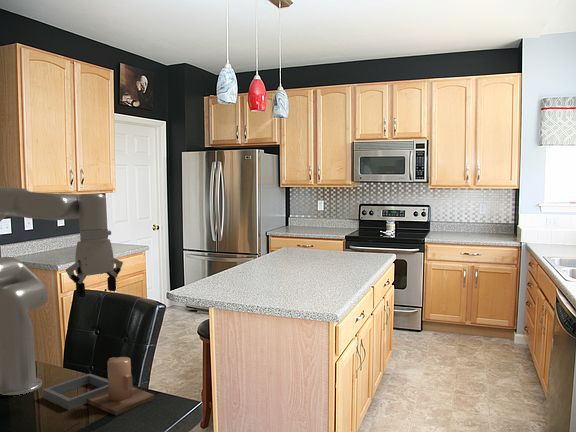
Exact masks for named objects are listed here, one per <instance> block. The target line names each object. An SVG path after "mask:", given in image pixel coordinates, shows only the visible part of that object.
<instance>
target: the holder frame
mask: <svg viewBox="0 0 576 432" xmlns="http://www.w3.org/2000/svg"><path fill="white" fill-rule="evenodd" d="M86 385H91V386H94V387H97V388H94V389H92V390H90V391H89V390H88V391H87V392H84V393H82V394H81V393H80V394H78V395H75V396H74V397H69V396H66V395H64V393H66V392H69V391H72V390H75V389H77V388H80V387H81V388H82V387H83V386H86ZM107 391H108V378H107V379H106V378H103V377H101V376H99V375H96V374H93V373H88V374H84V375H81V376H78V377H75V378H73V379H69V380H67V381H63V382H60V383H57V384H55V385H52V386H49V387H46V388H43V389H42V398H43V399H44V400H46V401H49V402H51V403H53V404H54V405H57V406H59V407H61V408H63V409H66V410H67V411H71V410H73V409H76V408H78V407H81V406H83V405H86V404H88V403H87V399H88V398H91V397H93V396H96V395H99V394H101V393H104V392H107Z"/></svg>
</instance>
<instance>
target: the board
mask: <svg viewBox="0 0 576 432" xmlns="http://www.w3.org/2000/svg"><path fill="white" fill-rule="evenodd" d="M132 387H133V389H132V396H131V397H130V398H128V399H125V400H120V401H112V400H109V392H108V391H107V392H104V393H101V394H99V395H96V396H93V397H91V398H88V399H87V403H86V404H88V405H91V406H93V407H95V408H97V409H100V410H102V411H104V412H107V413H108V414H111V415H114V416H118V415H121V414H123V413H126V412H127V411H130V410H133V409H134V408H137V407H140V406H142V405H144V404H146V403H149V402H151V401H153V400H155V399H156V398H155V397H156V395H155V394H154V393H150V392H148V391H145V390H142V389H139V388H138V387H134V386H132Z"/></svg>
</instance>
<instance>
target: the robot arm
mask: <svg viewBox="0 0 576 432" xmlns="http://www.w3.org/2000/svg"><path fill="white" fill-rule="evenodd" d="M107 213H108V212H107V197H106V196H105V194H103V193H82V194H78V193H77V194H76V193H50V192H38V191H36V192H35V191H29V189H27V188H24V187H8V186H5V185H0V222H1V221H2V220H4V219H5V218H7V216H9V217H19V218H25V219H34V220H44V221H45V220H46V221H62V220H63V221H64V220H74V219H78V220H79V239H80V241H79V240H78V241H77V243H76V246H75V247H76V248H75V258H74V259H75V260H74V263H73V264H71V265H70V266H69V267H67V268H66V269H65V272H66V274H67V276H68V278H69V279H70V280H71V281H73V283H74V284H75V293H76V296H77V297H78V298H85V296H86V287H85V286H86V285H85V284H86V283H85V282H84V281H85V279H86V278H87V277H89V276H95V275H102V274H106V275H107V276H108V277H107V280H106V281H107V290H108V291H109V292H115V291H117V289H116V288H117V277H118V276H119V273H120V272H121V270H122V267H123V264H124V262H123V261H122V260H119V259H117V258H114V252H113V245H112V243H111V239H110V238H109V236H110V235H112V231H111V230H109V229H108V214H107ZM48 298H49V292H48V289H47V287H46V284H44V282H42V281H41V279H40V278H39V277H38V276H36V274H35V273H33V271H31V269H29V268H28V266H27V265H25V263H23V262H22V261H21V260H19V259H17V258H15V257H12V256H0V394H2V395H19V396H21V395H20V394H23V395H26V393H27V394H29V392H30V393H32V392H34V390H35V391H36V390H38V389H39V388H41V387H42V385H43V380H42V379H41V378H39V377H37V372H36V371H37V370H36V369H37V368H36V353H35V351H36V350H35V335H34V325H33V323H32V320H31V318H30V316H29V314H28V313H29V312H32V311H35V310H37V309H39V308H41V307H43V306H44V305H45V304H46V303H47V301H48Z"/></svg>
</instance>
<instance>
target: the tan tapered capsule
mask: <svg viewBox="0 0 576 432" xmlns="http://www.w3.org/2000/svg"><path fill="white" fill-rule="evenodd" d="M131 364H132V363H131V358H130V357H128V356H120V357H119V356H118V357H110V358H108V360H107V380H108V392H109V400H112V401H120V400H125V399H128V398H130V397H131V396H132V389H133V387H134V386H133V375H132V365H131Z"/></svg>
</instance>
